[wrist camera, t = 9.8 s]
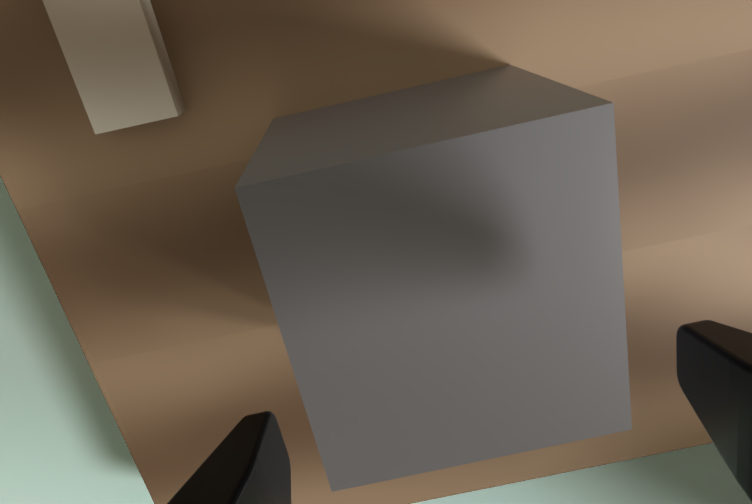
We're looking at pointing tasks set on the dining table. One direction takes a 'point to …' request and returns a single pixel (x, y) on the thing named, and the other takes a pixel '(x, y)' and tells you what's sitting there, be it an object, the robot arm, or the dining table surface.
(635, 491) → the dining table surface
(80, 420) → the dining table surface
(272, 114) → the brown wooden flat slab
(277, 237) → the grey rectangular block
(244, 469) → the robot arm
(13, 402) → the dining table surface
